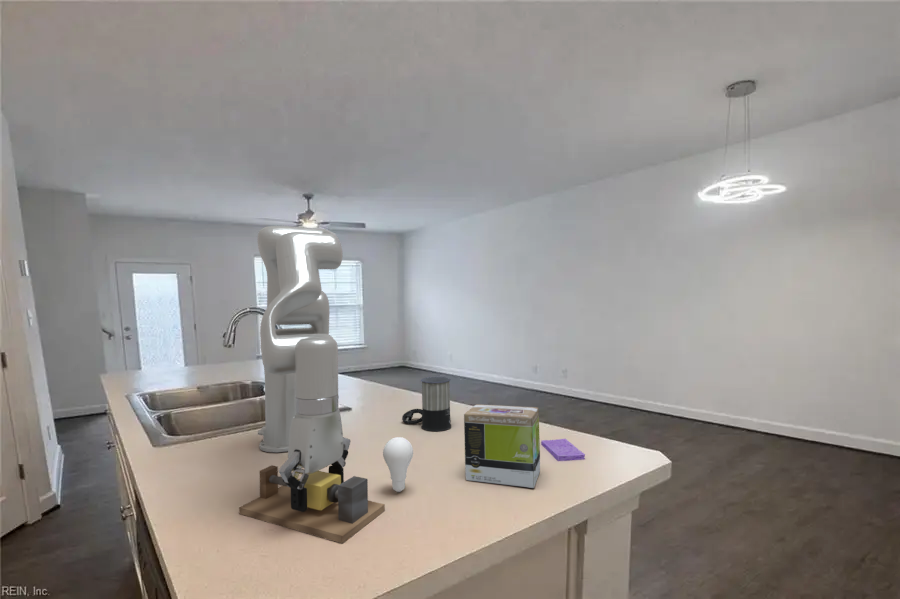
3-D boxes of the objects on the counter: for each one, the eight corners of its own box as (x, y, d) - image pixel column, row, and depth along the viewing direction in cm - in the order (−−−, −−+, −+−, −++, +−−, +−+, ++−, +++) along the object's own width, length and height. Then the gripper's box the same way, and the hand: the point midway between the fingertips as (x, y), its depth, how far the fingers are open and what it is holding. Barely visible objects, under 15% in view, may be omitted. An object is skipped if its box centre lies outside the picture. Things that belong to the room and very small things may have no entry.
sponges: (557, 463, 105) (557, 455, 105) (540, 446, 118) (540, 439, 118) (585, 461, 106) (585, 454, 106) (565, 444, 119) (565, 437, 119)
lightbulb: (389, 500, 86) (388, 444, 86) (379, 489, 91) (378, 436, 91) (418, 494, 88) (417, 439, 88) (407, 483, 94) (406, 431, 94)
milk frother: (451, 432, 130) (450, 381, 130) (397, 432, 130) (397, 382, 130) (451, 418, 144) (451, 373, 144) (403, 419, 144) (403, 374, 144)
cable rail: (239, 513, 81) (238, 474, 81) (288, 488, 92) (288, 453, 92) (342, 543, 71) (342, 498, 71) (384, 510, 82) (384, 471, 82)
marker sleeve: (295, 504, 80) (295, 480, 80) (316, 492, 84) (316, 470, 84) (321, 510, 77) (320, 486, 77) (341, 497, 82) (340, 475, 82)
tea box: (540, 471, 99) (540, 406, 99) (534, 490, 90) (533, 417, 90) (476, 464, 104) (475, 402, 104) (463, 481, 95) (463, 412, 95)
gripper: (332, 394, 90) (334, 477, 90) (264, 414, 74) (265, 515, 75) (362, 397, 87) (363, 483, 87) (297, 419, 71) (299, 524, 71)
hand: (318, 498), depth 81 cm, fingers open, 9 cm apart
